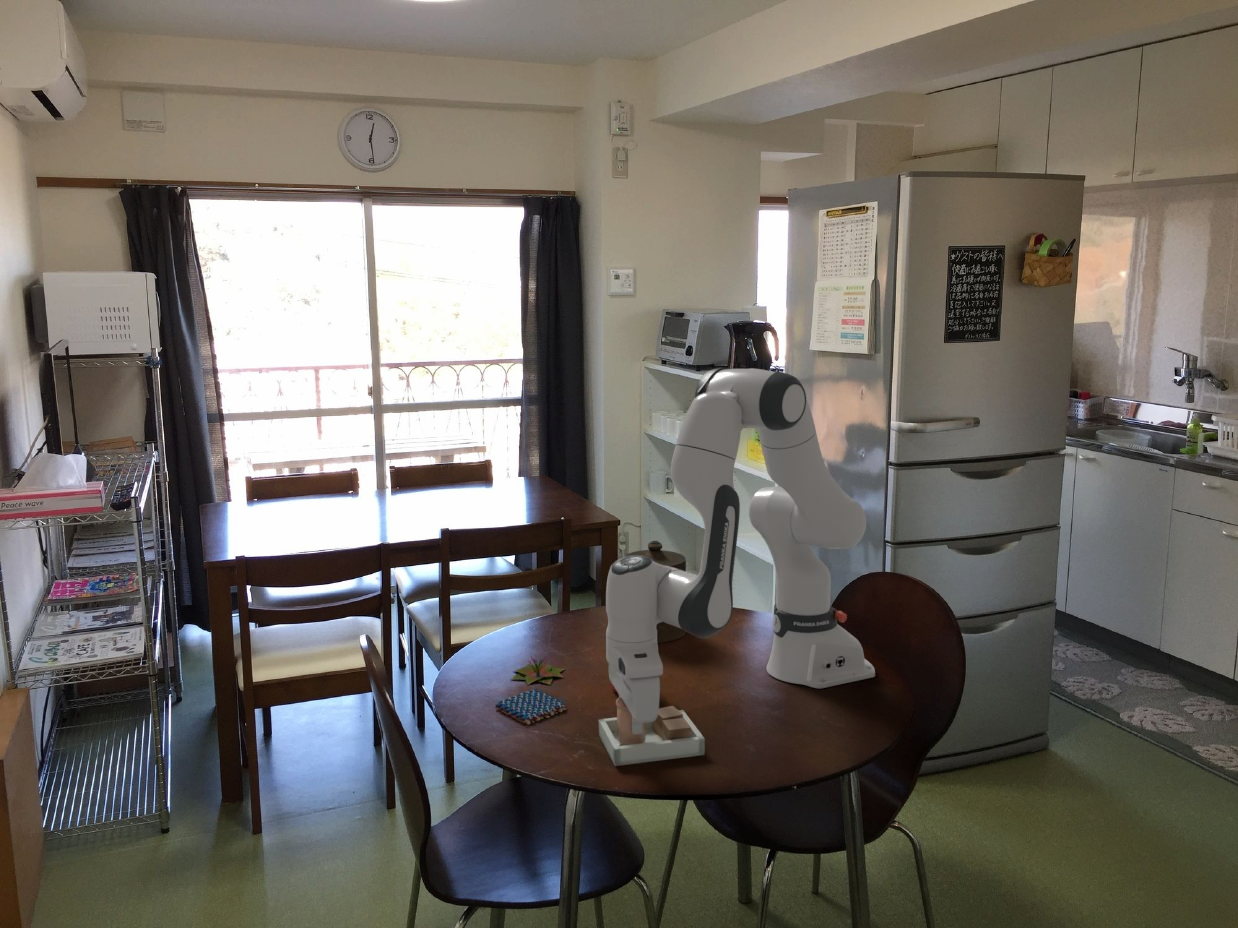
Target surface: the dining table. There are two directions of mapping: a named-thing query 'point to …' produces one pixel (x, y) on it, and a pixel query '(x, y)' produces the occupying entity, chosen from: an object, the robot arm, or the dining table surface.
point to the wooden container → (673, 560)
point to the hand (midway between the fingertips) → (631, 724)
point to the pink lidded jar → (627, 726)
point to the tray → (649, 744)
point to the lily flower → (537, 672)
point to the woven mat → (530, 706)
